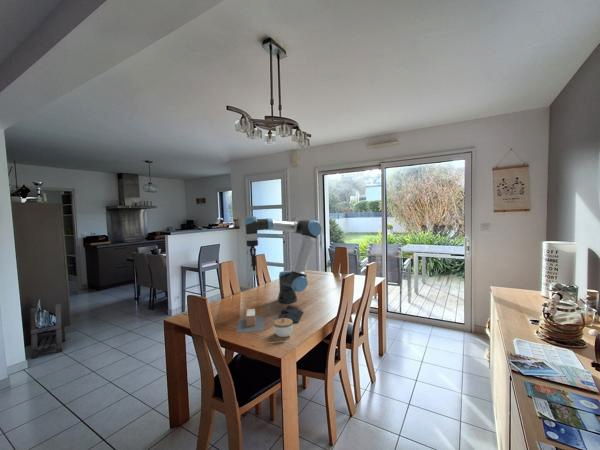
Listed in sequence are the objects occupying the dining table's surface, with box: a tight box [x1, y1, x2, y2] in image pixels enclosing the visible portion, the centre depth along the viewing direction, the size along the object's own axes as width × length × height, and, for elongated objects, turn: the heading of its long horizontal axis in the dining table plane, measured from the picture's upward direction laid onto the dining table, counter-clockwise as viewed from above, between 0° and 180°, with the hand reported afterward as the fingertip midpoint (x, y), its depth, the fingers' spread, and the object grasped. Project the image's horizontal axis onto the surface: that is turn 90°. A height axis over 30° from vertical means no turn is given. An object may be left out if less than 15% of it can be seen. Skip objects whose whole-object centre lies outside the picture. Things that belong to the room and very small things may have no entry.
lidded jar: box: [272, 318, 294, 338], centre depth 148 cm, size 11×11×9 cm
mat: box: [235, 315, 266, 334], centre depth 164 cm, size 16×22×1 cm
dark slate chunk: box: [277, 304, 304, 324], centre depth 175 cm, size 15×22×5 cm
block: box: [245, 308, 256, 326], centre depth 167 cm, size 5×6×12 cm
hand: (254, 275), depth 179 cm, fingers closed
